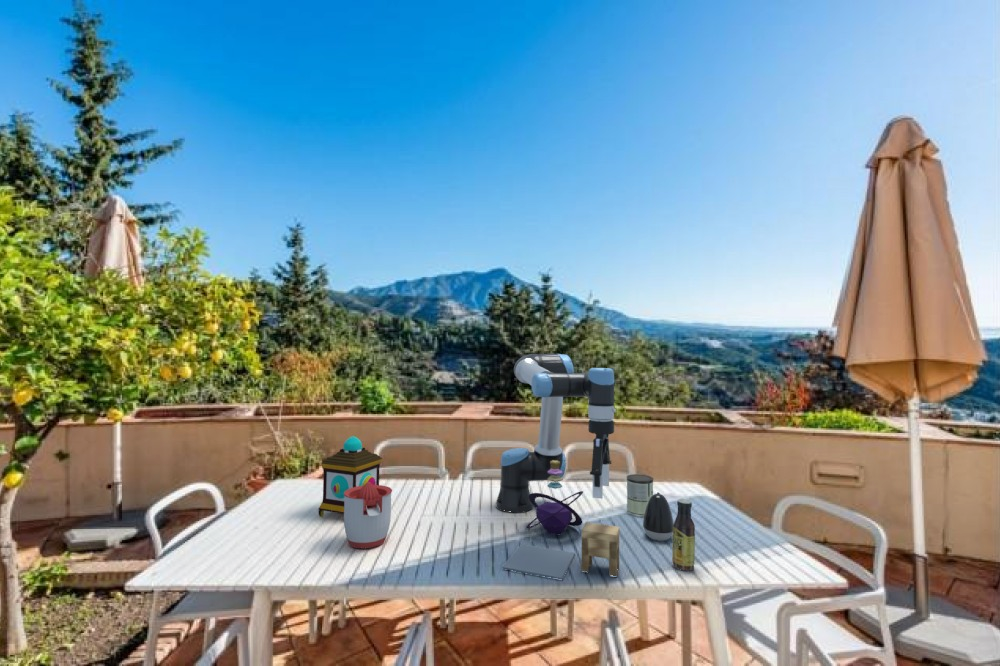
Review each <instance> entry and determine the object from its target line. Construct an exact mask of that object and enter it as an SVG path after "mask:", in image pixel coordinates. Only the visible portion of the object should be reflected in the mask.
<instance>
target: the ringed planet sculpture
mask: <svg viewBox="0 0 1000 666" xmlns="http://www.w3.org/2000/svg"><path fill="white" fill-rule="evenodd" d="M550 464H551V469H550V470H549V471H548V473H549V474H553V475H551V476H550V477H549V478H548V480H547V481H549V483H548V484H547V487H548V488H551V489H555V490H556V489H561V488H563V485H562V484H561V482H562V480H563V477H562V478H561V477H560V476H554V475H558V474H562V473H563V472H562V471H561V470H559V465H560V462H559V461H558V460H557V461H554V460H552V461H550ZM583 494H584V491H578V492H576V493H573V494H571V495H569V496H567V497H566V498H564V499H562V500H560V499H558V498H556V497H553V496H551V495H549V494H548V495H547V494H545V493H539V492H532V493H531V492H530V495H529V499H530V502H531V503H532V504H533V507H534V508H536V510H535V511H536V517H535V518H534V519H532V520H531V521H530V522H529V523H528V524H527V525H526V526H525V528H524V529H525V530H529V529H531V528H534V527H536V526H539V525H541V526H542V528H543V529H544V530H545V531H546V533H547V534H549V535H557V534H560V535H562V534H563V532H564V531H565V530H566V529H567V527H568V526H570V527H571V526H572V527H579V526H582V524H583V519H582V517H581V516H580V514H578V513H577V511H575V509H573V508H572V507H571V506H570V505H571V504H572V503H574V502H575V501H576V500H578V499H579V497H581V496H582V495H583ZM575 496H576V497H575ZM572 497H575V498H573V499H572V500H571V501H570V502H569V503H565V501H566V500H568V499H570V498H572ZM537 498H543V499H547V500H550V501H545V502H544V503H541V504H539V505H538V504H537V503H536V499H537ZM573 516H574V517H575V520H574V521H573ZM536 520H537V521H538V522H537V523H535V524H533V522H535V521H536Z"/></svg>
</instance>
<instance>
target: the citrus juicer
mask: <svg viewBox="0 0 1000 666" xmlns="http://www.w3.org/2000/svg"><path fill="white" fill-rule="evenodd" d="M392 492H393V490H392V488H391V487H389V486H387V485H382V484H379V485H372V484H371V483H370V482H367V483H366V484H365V485H363V486H357V487H353V488H350V489H348V490H346V491H345V492H344V495H345V498H344V514H343V527H344V532H345V537H346V540H347V542H348V543H347V544H348V545H349V546H350V547H351V548H354V549H357V548H361V549H370V548H371V549H372V548H376V547H378V546H381V545H383V544H384V543H385V541H386V540H387V536H388V532H389V529H390V524H391V519H392V518H391V515H392V514H391V513H392Z"/></svg>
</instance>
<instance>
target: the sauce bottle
mask: <svg viewBox="0 0 1000 666" xmlns="http://www.w3.org/2000/svg"><path fill="white" fill-rule="evenodd" d="M692 503H693V502H692V501H691V500H689V499H687V498H686V499H685V498H679V499H677V514H676V517H675V520H674V521H673V523H674V525H673V533H672V555H671V557H672V565H673V566H675V567H674V568H676V569H678V570H680V569H681V570H680V571H685V570H689V571H693V570H694V568H695V557H696V556H695V555H696V554H695V553H696V551H695V550H696V549H695V548H696V547H695V546H696V544H695V543H696V533H695V532H696V529H695V528H696V525H695V522H694V520H693V519H692V507H693V504H692ZM692 569H693V570H692Z"/></svg>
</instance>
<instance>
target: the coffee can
mask: <svg viewBox="0 0 1000 666" xmlns="http://www.w3.org/2000/svg"><path fill="white" fill-rule="evenodd" d="M626 492H627V493H626V499H627V500H626V502H627V503H626V507H627V509H626V512H627V513H628V514H629V515H631V516H634V517H640V518H642V517H643V518H644V514H645V510H646V506H647V503H648V501H649V499H650V498H651V496H652V495H654V478H653V477H652V476H650V475H646V474H641V473H640V474H637V473H636V474H628V475H626Z"/></svg>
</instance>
